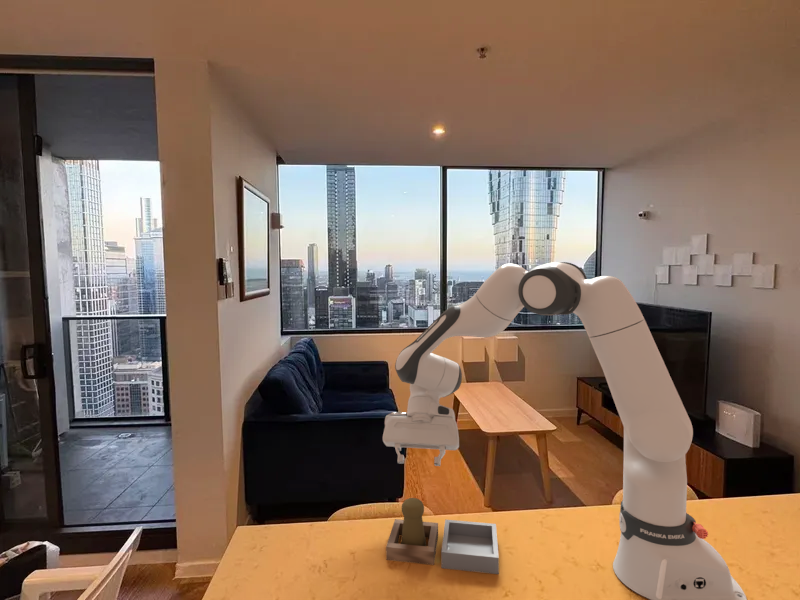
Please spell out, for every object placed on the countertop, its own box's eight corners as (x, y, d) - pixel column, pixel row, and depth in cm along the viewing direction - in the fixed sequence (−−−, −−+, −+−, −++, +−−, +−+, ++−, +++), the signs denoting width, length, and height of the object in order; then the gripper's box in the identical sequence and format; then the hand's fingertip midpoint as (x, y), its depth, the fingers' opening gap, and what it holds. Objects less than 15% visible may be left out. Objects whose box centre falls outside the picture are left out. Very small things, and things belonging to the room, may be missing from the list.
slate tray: (495, 538, 99) (495, 523, 99) (498, 574, 88) (498, 557, 87) (445, 533, 102) (445, 519, 101) (441, 568, 90) (441, 552, 90)
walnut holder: (438, 534, 101) (438, 522, 101) (434, 564, 91) (433, 551, 91) (395, 530, 103) (395, 519, 103) (386, 559, 93) (386, 546, 92)
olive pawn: (424, 557, 93) (423, 509, 93) (398, 553, 95) (397, 507, 94) (428, 540, 99) (427, 495, 99) (403, 537, 101) (402, 493, 100)
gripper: (384, 406, 115) (376, 456, 106) (459, 409, 111) (458, 461, 102) (387, 417, 120) (381, 465, 111) (460, 420, 116) (458, 471, 107)
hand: (418, 464), depth 106 cm, fingers open, 8 cm apart
